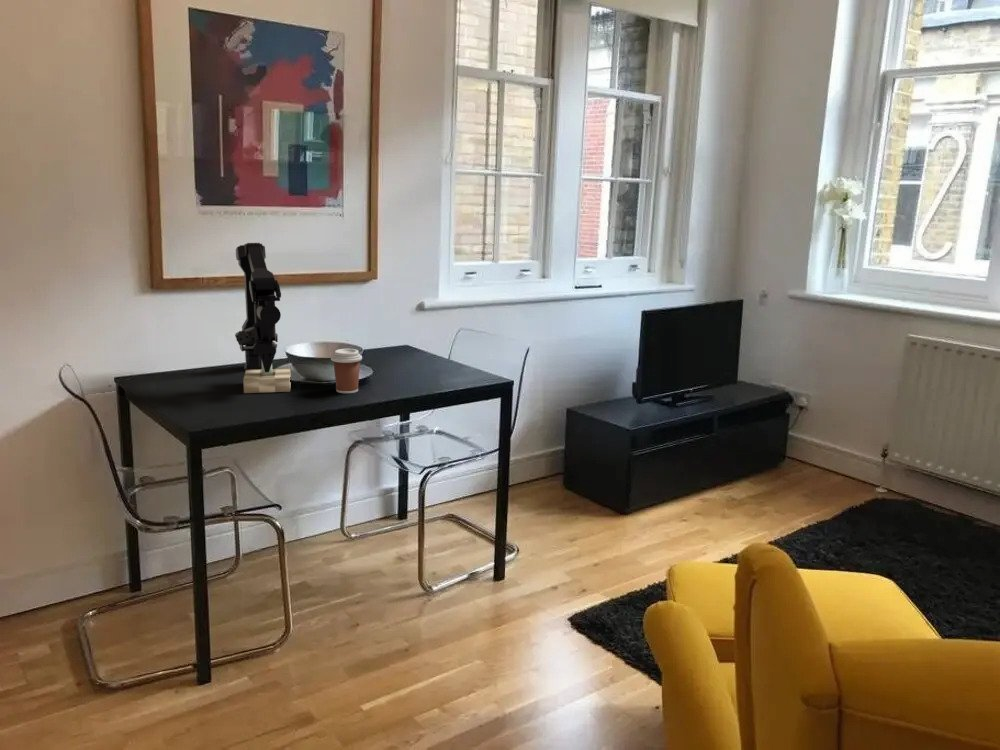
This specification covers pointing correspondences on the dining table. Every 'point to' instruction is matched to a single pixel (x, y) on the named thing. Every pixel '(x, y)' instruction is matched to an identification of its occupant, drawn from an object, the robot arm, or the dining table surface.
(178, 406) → the dining table surface
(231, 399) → the dining table surface
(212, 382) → the dining table surface
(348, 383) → the coffee cup
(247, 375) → the hole board
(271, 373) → the peg
